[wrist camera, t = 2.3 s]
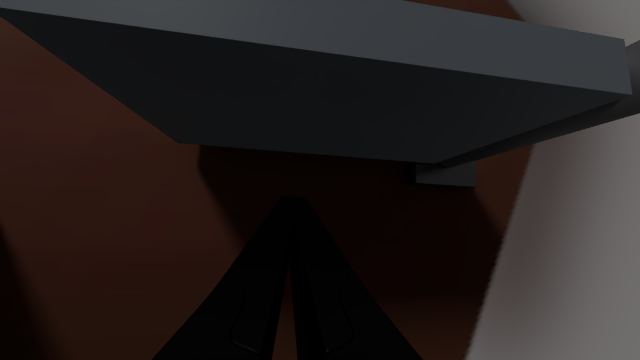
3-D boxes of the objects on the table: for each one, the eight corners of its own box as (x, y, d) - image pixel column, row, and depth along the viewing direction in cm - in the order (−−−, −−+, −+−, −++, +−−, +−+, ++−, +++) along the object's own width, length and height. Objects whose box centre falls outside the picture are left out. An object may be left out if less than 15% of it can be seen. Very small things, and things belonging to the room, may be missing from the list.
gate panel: (463, 168, 19) (691, 108, 9) (177, 146, 16) (-18, 12, 6) (462, 138, 20) (679, 43, 9) (182, 110, 17) (6, -76, 6)
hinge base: (465, 188, 21) (476, 186, 20) (408, 184, 20) (416, 182, 19) (463, 129, 22) (473, 125, 20) (407, 124, 21) (415, 118, 20)
